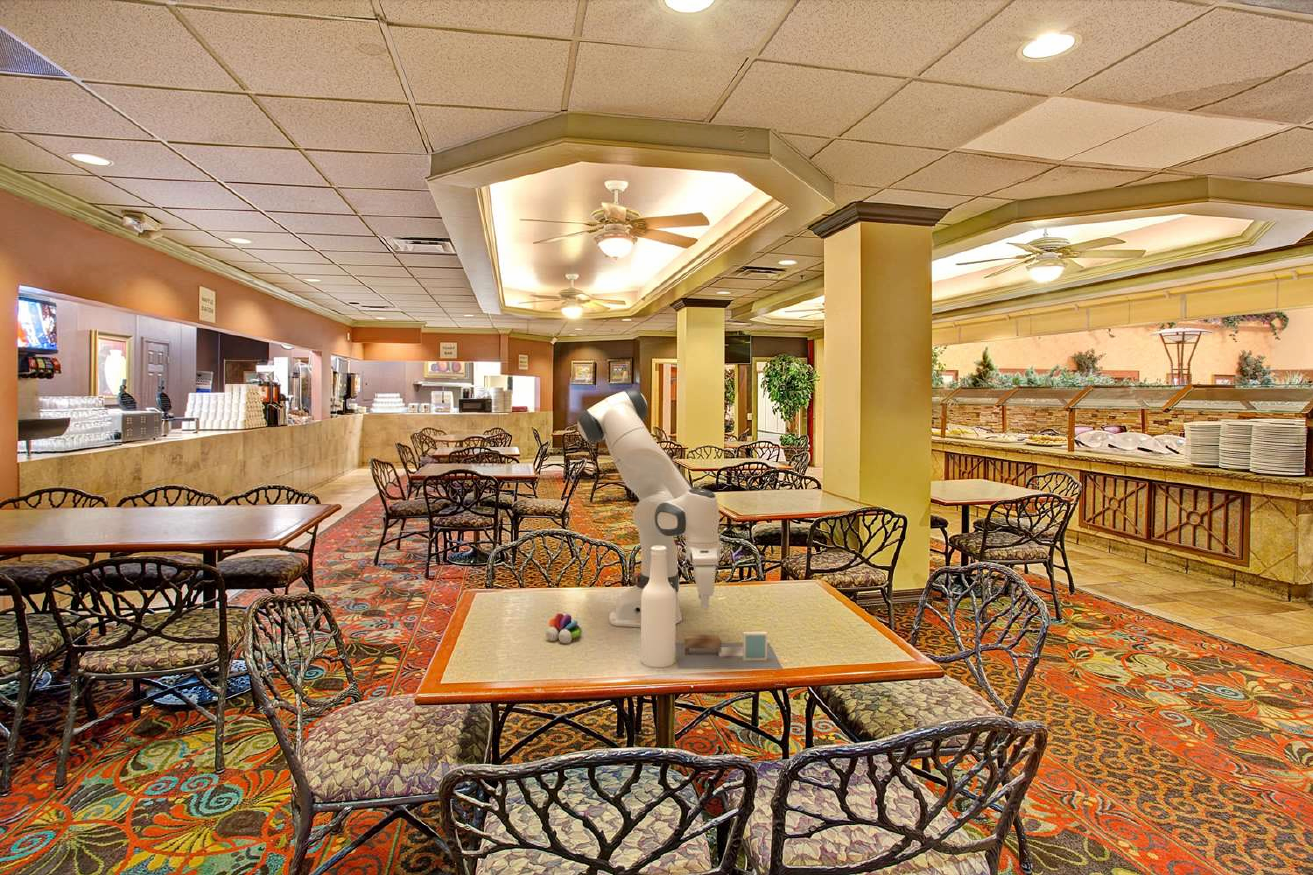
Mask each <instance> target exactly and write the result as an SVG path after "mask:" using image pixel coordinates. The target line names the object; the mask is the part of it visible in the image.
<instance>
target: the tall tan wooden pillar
mask: <svg viewBox="0 0 1313 875" xmlns="http://www.w3.org/2000/svg"><path fill="white" fill-rule="evenodd" d="M684 643H685V655H689V648H717V654H719V658H743V647H721V643H722V639H721V638H720V636H719V634H714V635H713V634H708V635H707V634H685V635H684Z"/></svg>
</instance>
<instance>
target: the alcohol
mask: <svg viewBox="0 0 1313 875" xmlns="http://www.w3.org/2000/svg"><path fill="white" fill-rule="evenodd" d="M666 549H667V548H666V547H665V546H653V547H652V548H651V550H652V551H651V566H650V578H649V582H648V584H647V585H646V586H645V588H644V589H643V591H642V595H641V627H640V661H641V663H642V664H643V665H644V666H646V667H650V668H666V667H670V666H672V665H674V663H675V662H676V645H675V643H676V626H677V625H676V624H677V623H676V596H675V592H674V589H673V588H672V586H671V585H670V584H669V582H668V576H667V561H666V554H667V552H666Z"/></svg>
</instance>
